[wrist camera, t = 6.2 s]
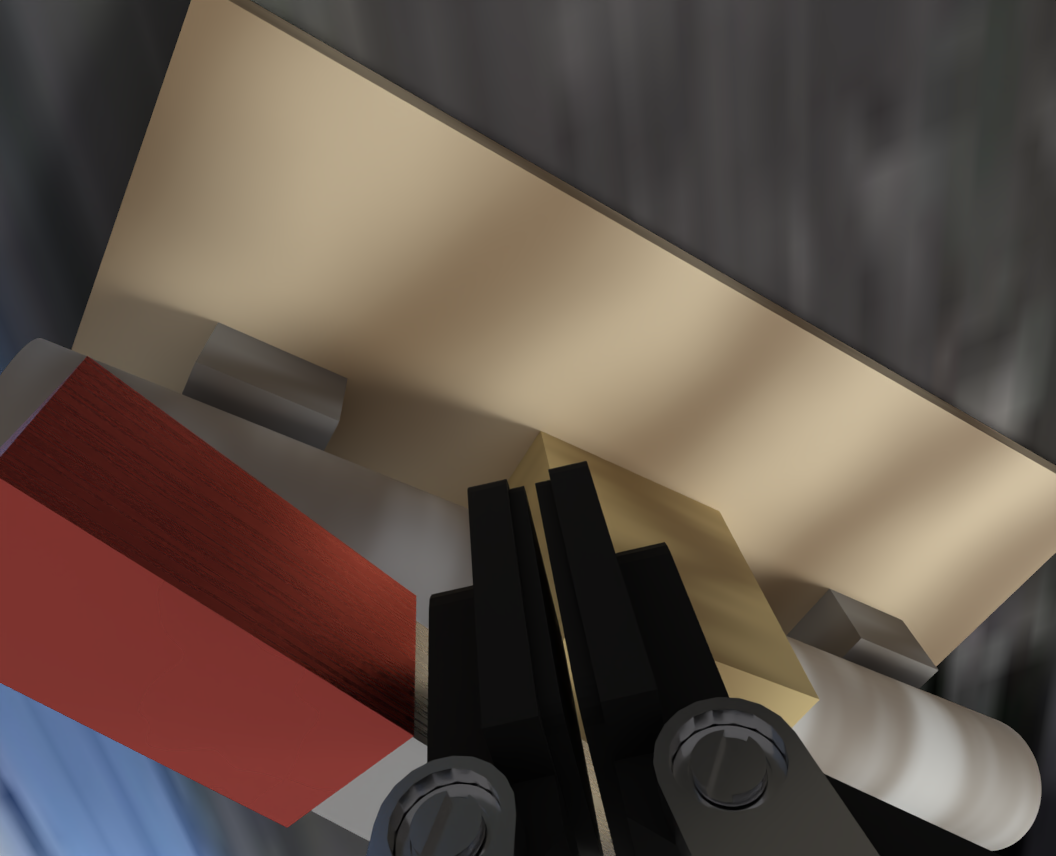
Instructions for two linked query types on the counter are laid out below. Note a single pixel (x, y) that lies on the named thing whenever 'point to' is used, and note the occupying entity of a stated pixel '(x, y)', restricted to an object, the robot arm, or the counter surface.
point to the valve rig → (556, 399)
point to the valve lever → (204, 614)
